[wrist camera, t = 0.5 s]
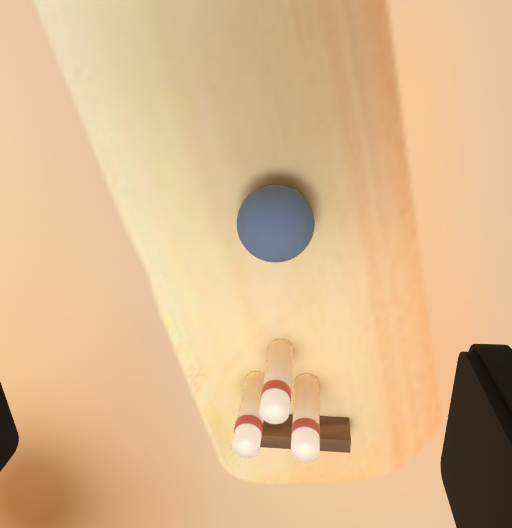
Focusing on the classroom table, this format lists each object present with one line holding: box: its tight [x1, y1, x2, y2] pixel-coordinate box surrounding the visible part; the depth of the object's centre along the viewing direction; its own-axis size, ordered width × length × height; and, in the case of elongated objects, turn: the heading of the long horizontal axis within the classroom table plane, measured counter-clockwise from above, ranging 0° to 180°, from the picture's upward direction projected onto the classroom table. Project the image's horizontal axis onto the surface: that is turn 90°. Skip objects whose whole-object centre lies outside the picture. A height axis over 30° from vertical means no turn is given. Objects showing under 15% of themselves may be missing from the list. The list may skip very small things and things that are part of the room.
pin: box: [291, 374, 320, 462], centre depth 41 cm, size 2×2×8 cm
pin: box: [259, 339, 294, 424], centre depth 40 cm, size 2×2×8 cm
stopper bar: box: [260, 415, 351, 453], centre depth 46 cm, size 2×10×3 cm, turn 92°
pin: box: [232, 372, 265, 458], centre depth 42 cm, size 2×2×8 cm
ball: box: [237, 185, 314, 262], centre depth 35 cm, size 6×6×6 cm
